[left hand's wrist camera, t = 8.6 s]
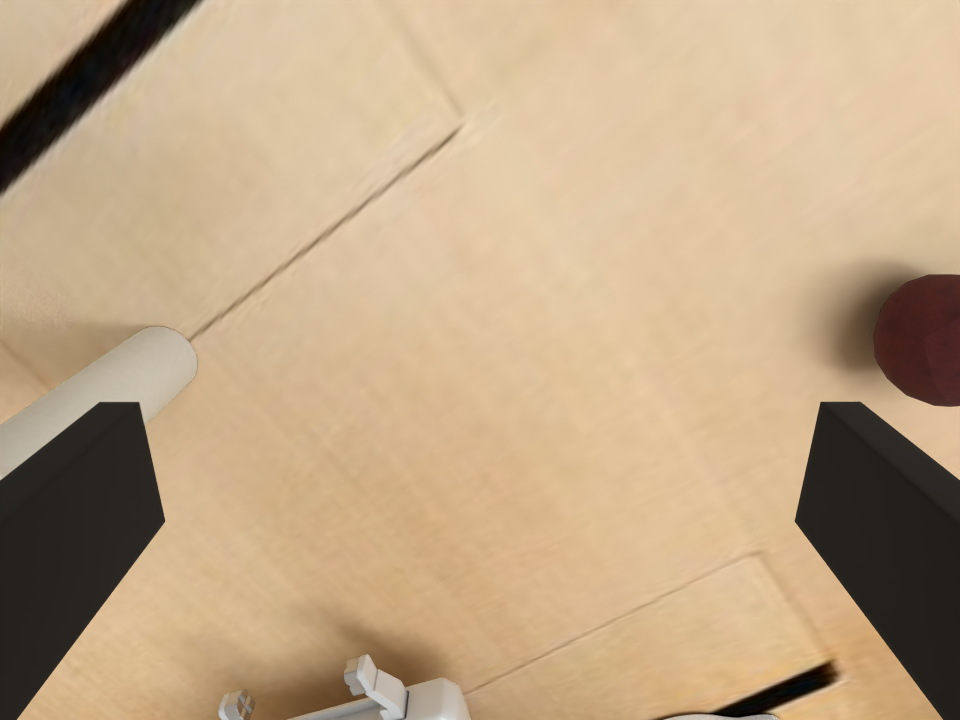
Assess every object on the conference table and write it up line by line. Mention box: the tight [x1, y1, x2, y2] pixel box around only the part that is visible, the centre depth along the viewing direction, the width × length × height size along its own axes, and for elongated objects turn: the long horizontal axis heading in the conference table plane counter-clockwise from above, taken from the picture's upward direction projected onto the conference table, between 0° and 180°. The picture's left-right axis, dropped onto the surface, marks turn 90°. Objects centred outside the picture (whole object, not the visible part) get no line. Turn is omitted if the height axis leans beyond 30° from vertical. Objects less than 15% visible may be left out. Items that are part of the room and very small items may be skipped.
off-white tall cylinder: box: [0, 326, 197, 476], centre depth 33 cm, size 4×4×18 cm
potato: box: [873, 274, 960, 407], centre depth 38 cm, size 7×8×7 cm
